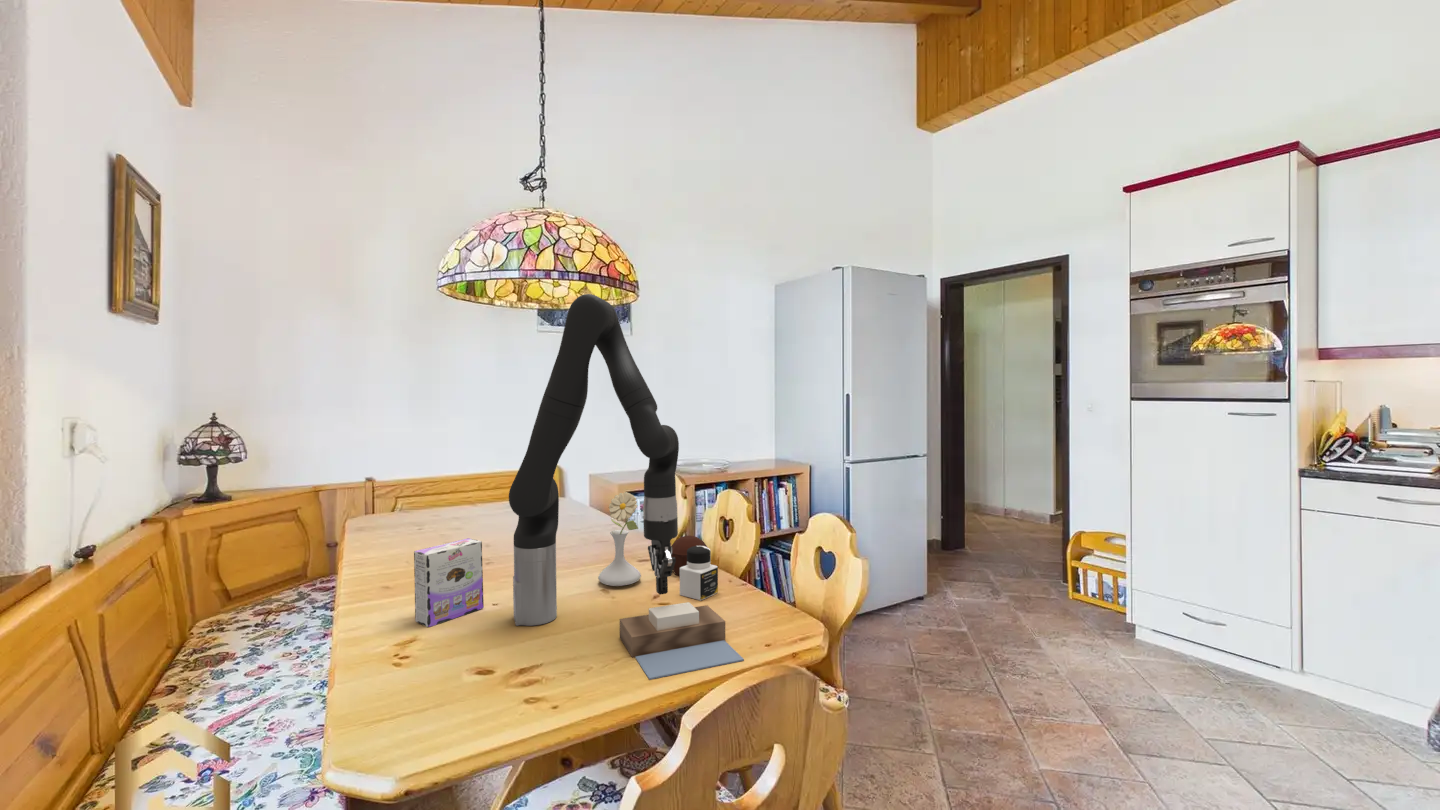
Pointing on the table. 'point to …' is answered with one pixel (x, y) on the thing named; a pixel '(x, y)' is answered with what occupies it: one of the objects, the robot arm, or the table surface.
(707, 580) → the medicine bottle
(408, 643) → the table surface
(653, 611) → the white eraser
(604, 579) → the flower in vase
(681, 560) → the muffin
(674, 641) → the wooden block
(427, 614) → the candy box
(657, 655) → the mat
